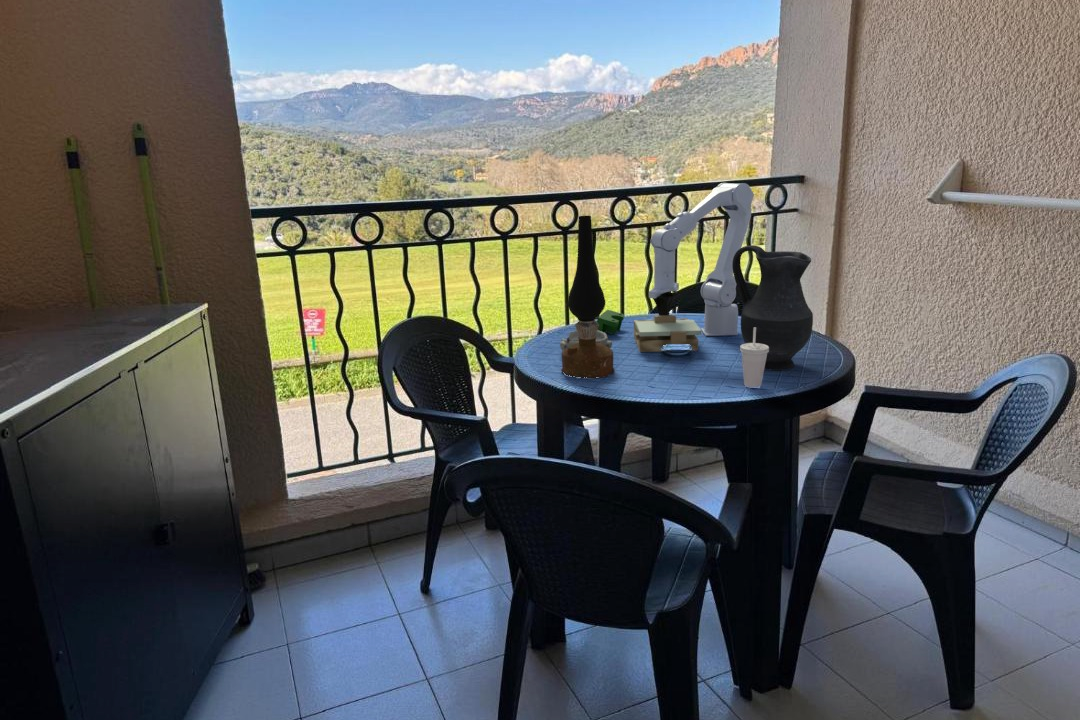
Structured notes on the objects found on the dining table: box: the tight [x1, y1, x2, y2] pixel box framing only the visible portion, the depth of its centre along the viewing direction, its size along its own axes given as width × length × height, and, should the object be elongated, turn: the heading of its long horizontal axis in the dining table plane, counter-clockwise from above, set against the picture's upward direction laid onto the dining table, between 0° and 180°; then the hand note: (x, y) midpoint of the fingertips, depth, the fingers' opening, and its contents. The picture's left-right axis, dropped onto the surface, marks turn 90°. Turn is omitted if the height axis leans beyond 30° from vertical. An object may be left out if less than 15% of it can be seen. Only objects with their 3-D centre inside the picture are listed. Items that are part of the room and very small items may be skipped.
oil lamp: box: [560, 215, 615, 378], centre depth 170 cm, size 14×15×40 cm
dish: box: [559, 329, 613, 353], centre depth 190 cm, size 14×14×5 cm
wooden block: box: [634, 333, 658, 341], centre depth 189 cm, size 6×2×1 cm, turn 88°
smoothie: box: [739, 327, 769, 387], centre depth 156 cm, size 6×6×14 cm
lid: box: [635, 314, 702, 343], centre depth 189 cm, size 17×14×5 cm
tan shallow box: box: [633, 318, 699, 353], centre depth 195 cm, size 16×17×5 cm
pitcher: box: [732, 244, 814, 371], centre depth 169 cm, size 17×21×30 cm
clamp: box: [596, 309, 625, 335], centre depth 210 cm, size 12×6×9 cm, turn 153°
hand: (663, 318), depth 196 cm, fingers closed
